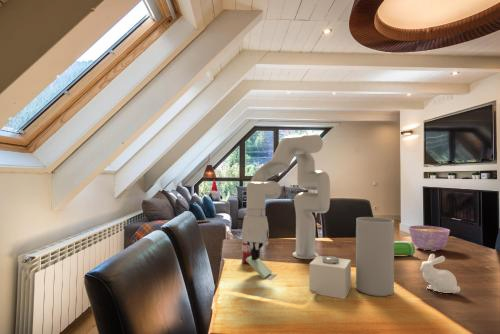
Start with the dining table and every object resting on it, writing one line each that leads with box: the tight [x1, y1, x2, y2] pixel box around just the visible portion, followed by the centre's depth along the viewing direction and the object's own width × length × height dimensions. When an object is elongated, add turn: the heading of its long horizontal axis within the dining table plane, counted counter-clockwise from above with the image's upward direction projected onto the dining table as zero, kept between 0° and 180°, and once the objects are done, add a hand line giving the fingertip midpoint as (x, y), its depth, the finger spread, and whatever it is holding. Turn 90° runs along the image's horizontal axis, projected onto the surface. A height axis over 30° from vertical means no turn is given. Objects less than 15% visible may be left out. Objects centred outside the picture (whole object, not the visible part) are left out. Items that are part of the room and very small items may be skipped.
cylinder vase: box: [355, 216, 395, 297], centre depth 114 cm, size 12×12×25 cm
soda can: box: [241, 239, 256, 266], centre depth 144 cm, size 7×7×12 cm
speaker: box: [394, 240, 416, 256], centre depth 162 cm, size 18×7×8 cm, turn 94°
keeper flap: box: [246, 256, 273, 279], centre depth 127 cm, size 7×1×10 cm
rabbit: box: [419, 253, 461, 295], centre depth 115 cm, size 12×9×12 cm
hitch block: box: [308, 255, 352, 300], centre depth 114 cm, size 12×12×10 cm
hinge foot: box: [266, 273, 278, 281], centre depth 125 cm, size 7×2×1 cm, turn 154°
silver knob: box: [322, 255, 340, 264], centre depth 114 cm, size 6×6×10 cm
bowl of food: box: [408, 225, 451, 251], centre depth 177 cm, size 20×20×12 cm
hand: (255, 258), depth 128 cm, fingers closed
